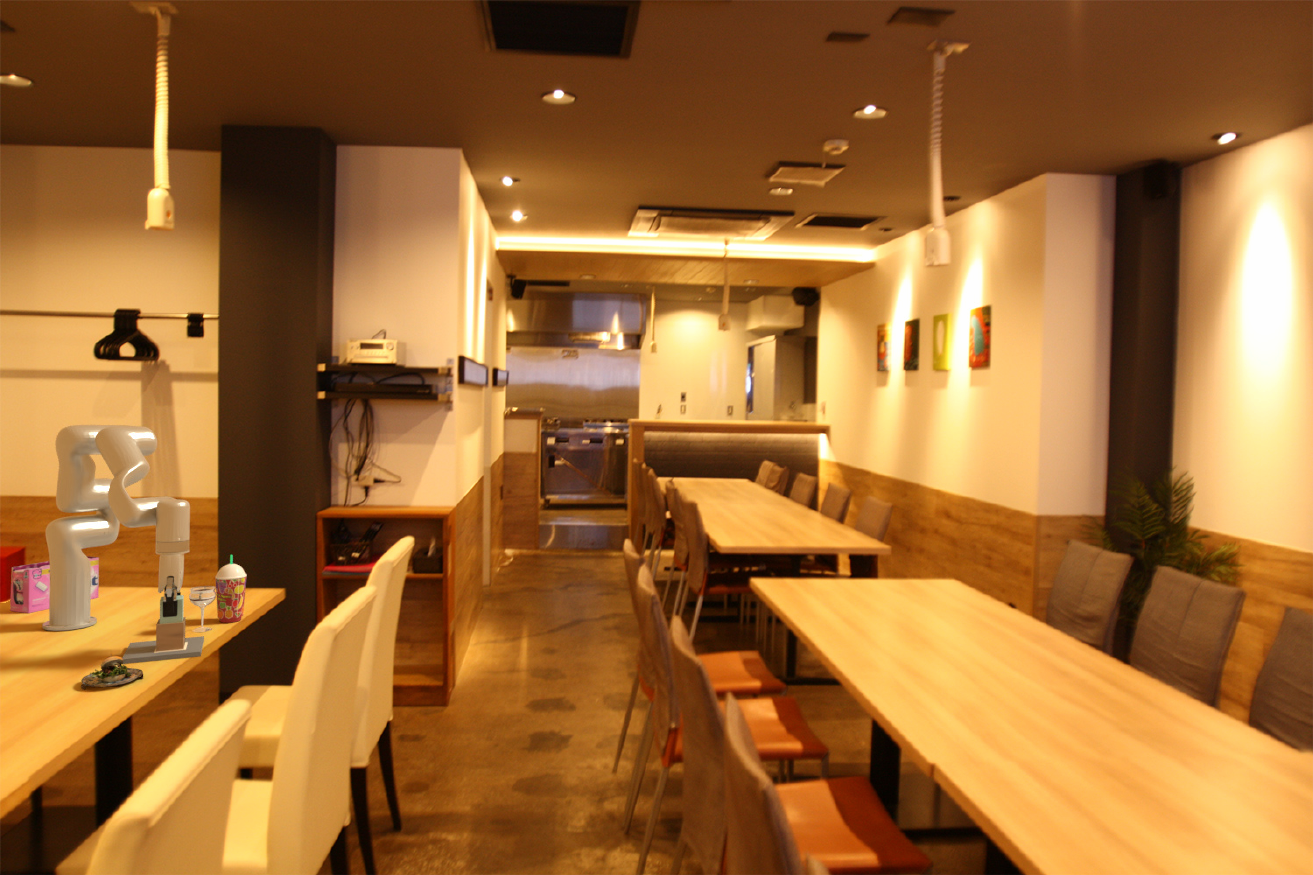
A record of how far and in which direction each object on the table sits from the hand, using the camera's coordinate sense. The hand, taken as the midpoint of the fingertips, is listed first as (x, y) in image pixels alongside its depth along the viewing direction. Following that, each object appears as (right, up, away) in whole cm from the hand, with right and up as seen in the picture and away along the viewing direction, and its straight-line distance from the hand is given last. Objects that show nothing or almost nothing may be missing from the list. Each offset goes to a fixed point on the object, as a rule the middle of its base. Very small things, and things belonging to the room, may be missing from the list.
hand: (171, 611), depth 203 cm
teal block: (0, -2, 0) cm, 2 cm away
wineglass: (-4, -10, +21) cm, 24 cm away
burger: (0, -12, -23) cm, 25 cm away
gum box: (-65, -8, +45) cm, 79 cm away
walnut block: (0, -9, 0) cm, 9 cm away
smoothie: (-2, -10, +32) cm, 33 cm away
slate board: (-2, -11, 0) cm, 11 cm away
